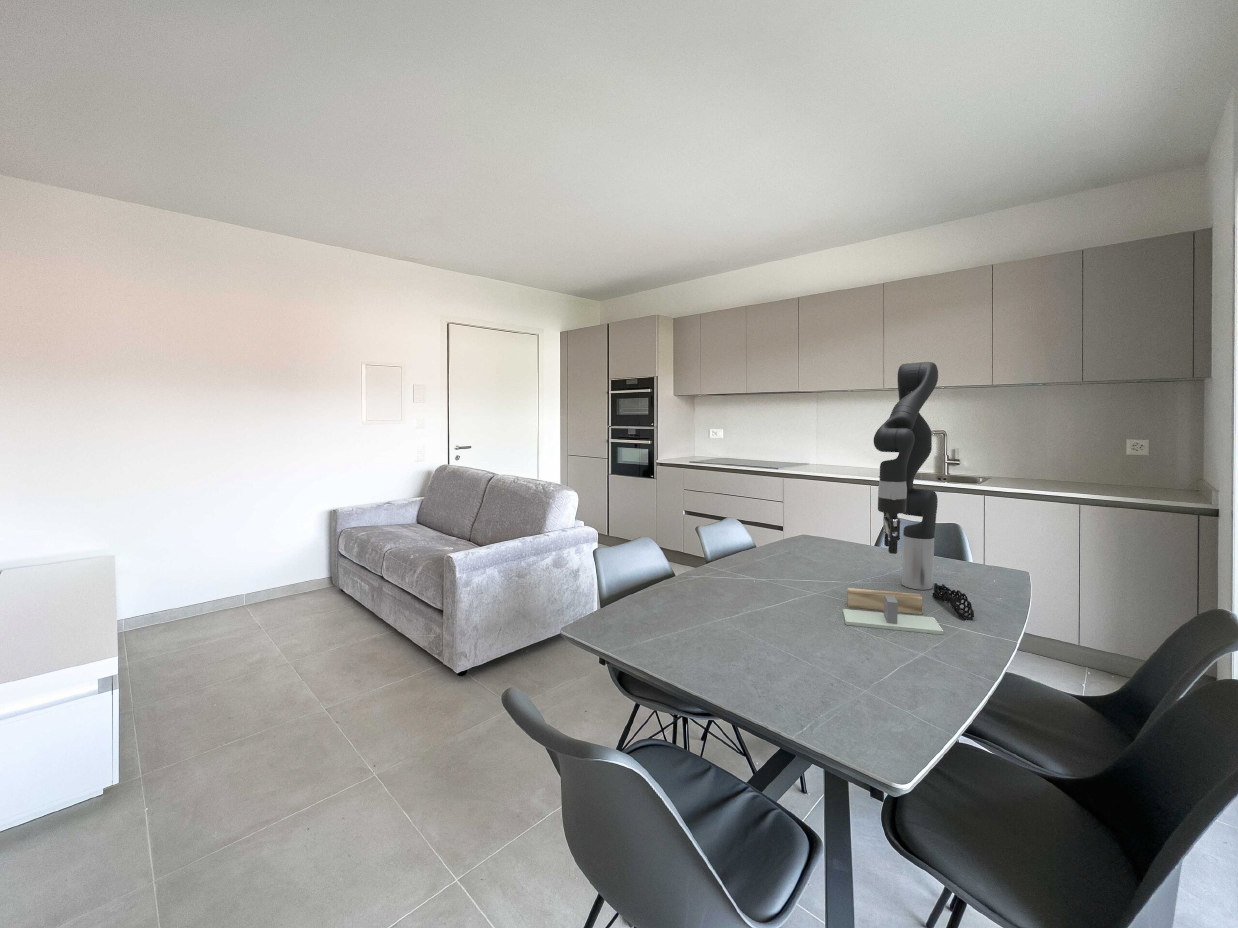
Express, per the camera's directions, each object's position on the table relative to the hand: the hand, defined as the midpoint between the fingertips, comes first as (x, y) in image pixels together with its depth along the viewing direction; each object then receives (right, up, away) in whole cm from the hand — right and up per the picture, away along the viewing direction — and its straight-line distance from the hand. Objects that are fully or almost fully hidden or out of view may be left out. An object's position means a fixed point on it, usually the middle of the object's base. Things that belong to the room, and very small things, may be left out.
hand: (890, 549), depth 159 cm
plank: (-1, -19, +3) cm, 19 cm away
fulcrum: (-4, -19, -8) cm, 21 cm away
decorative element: (+20, -18, +3) cm, 27 cm away
